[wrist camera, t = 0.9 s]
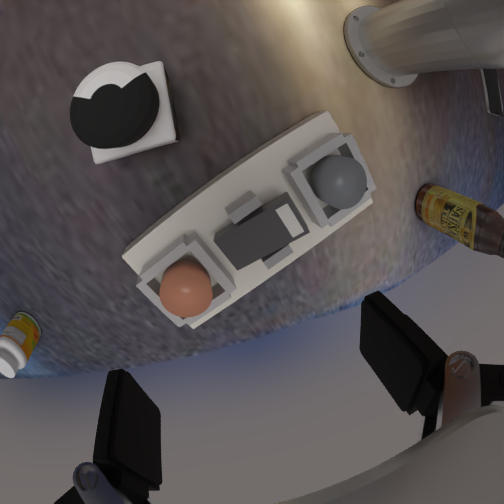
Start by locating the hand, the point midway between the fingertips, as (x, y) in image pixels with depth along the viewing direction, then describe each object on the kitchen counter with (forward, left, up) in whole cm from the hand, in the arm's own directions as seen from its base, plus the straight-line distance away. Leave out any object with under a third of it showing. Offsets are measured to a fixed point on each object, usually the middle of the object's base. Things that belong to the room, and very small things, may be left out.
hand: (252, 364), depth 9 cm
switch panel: (-3, +3, -22) cm, 22 cm away
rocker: (-3, +3, -17) cm, 17 cm away
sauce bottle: (-27, +17, -22) cm, 39 cm away
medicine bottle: (0, -13, -22) cm, 25 cm away
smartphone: (-61, +6, -22) cm, 66 cm away
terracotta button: (+6, +3, -17) cm, 18 cm away
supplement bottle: (+33, -5, -22) cm, 40 cm away
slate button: (-12, +3, -17) cm, 21 cm away
